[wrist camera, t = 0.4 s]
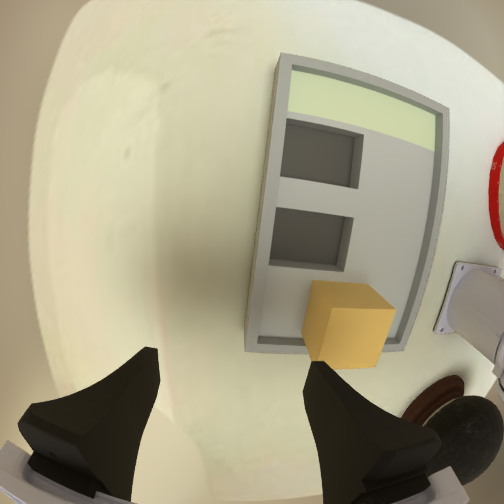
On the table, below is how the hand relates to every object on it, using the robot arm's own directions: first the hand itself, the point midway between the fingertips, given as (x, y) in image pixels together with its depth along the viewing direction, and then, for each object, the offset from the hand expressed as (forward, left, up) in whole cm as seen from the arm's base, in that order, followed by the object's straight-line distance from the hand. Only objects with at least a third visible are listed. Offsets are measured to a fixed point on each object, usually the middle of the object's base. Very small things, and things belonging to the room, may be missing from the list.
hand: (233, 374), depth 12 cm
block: (-7, 0, -8) cm, 11 cm away
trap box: (-8, -7, -10) cm, 15 cm away
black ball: (-29, +16, -10) cm, 35 cm away
